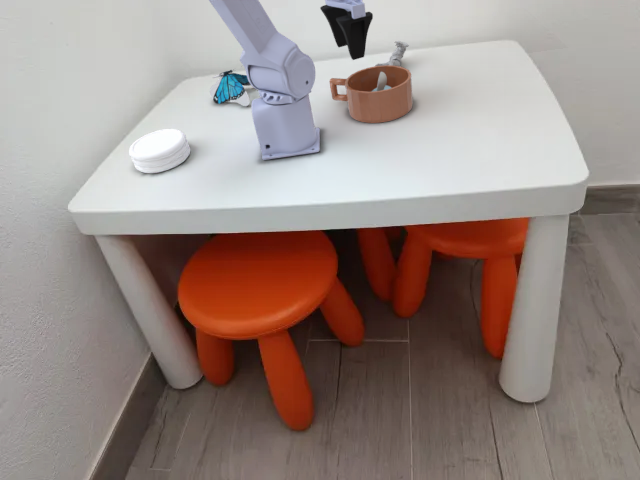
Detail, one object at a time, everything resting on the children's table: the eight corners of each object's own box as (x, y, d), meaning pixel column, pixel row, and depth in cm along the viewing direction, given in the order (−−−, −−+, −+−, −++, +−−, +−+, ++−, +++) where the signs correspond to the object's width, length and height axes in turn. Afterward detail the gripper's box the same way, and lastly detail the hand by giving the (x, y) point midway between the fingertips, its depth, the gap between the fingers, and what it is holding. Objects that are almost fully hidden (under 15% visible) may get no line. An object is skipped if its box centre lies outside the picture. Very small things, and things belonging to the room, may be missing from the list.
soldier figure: (365, 86, 101) (376, 46, 107) (385, 99, 103) (395, 58, 108) (388, 62, 95) (398, 21, 100) (409, 76, 96) (418, 34, 102)
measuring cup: (422, 96, 91) (420, 66, 88) (397, 125, 84) (394, 94, 81) (347, 90, 99) (343, 63, 95) (318, 117, 92) (313, 88, 88)
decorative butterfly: (218, 68, 109) (255, 54, 104) (232, 95, 112) (269, 83, 107) (195, 88, 102) (234, 74, 97) (211, 116, 105) (250, 105, 100)
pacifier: (357, 117, 88) (391, 115, 87) (351, 83, 84) (387, 80, 83) (363, 99, 94) (396, 96, 92) (358, 66, 90) (392, 62, 88)
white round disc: (186, 139, 94) (180, 122, 92) (195, 162, 86) (188, 144, 84) (133, 156, 92) (126, 139, 90) (137, 181, 84) (129, 163, 82)
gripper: (380, -34, 74) (387, 57, 83) (348, -47, 86) (357, 35, 94) (335, -22, 74) (347, 68, 82) (308, -37, 85) (322, 44, 93)
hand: (350, 51), depth 88 cm, fingers open, 7 cm apart
